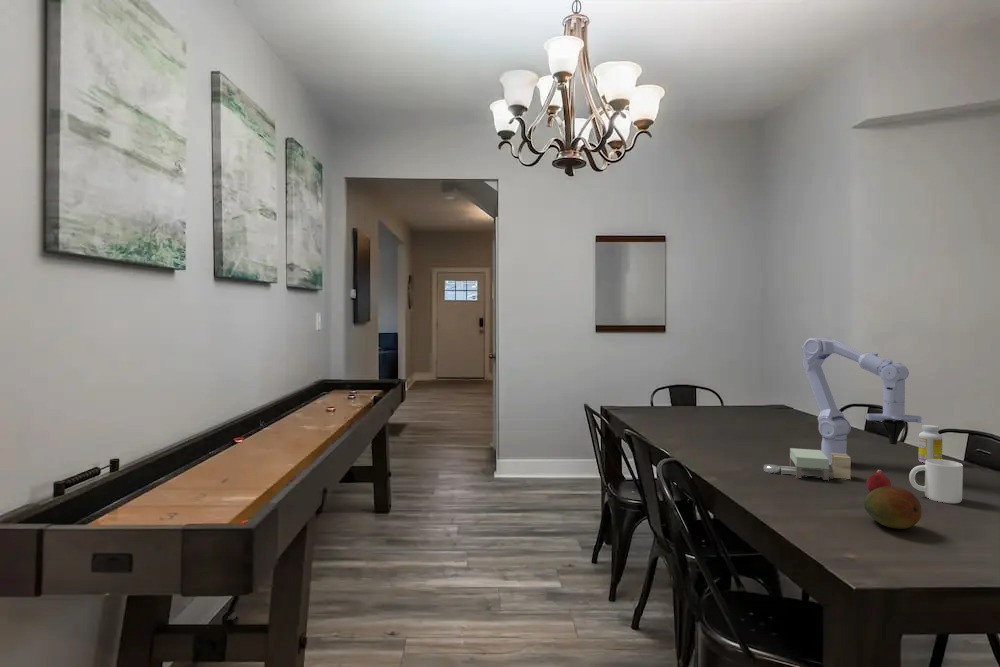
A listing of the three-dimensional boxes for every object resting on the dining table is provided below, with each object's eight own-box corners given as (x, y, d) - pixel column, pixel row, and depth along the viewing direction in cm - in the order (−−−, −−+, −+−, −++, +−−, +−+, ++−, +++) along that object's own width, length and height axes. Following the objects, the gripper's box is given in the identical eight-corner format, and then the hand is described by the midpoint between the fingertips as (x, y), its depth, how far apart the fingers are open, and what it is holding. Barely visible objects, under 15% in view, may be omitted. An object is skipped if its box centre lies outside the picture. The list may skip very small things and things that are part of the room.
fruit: (901, 539, 132) (901, 496, 131) (848, 521, 143) (849, 481, 143) (932, 531, 136) (933, 489, 136) (879, 514, 148) (879, 476, 147)
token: (762, 469, 192) (762, 463, 192) (779, 471, 190) (779, 465, 190) (764, 473, 187) (764, 467, 187) (781, 475, 186) (781, 468, 186)
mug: (911, 499, 160) (911, 462, 160) (906, 491, 167) (907, 456, 167) (965, 505, 154) (966, 467, 154) (958, 497, 162) (959, 461, 161)
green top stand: (789, 468, 193) (790, 448, 193) (819, 470, 190) (820, 450, 190) (796, 478, 181) (796, 457, 180) (828, 481, 178) (829, 459, 178)
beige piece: (779, 470, 190) (779, 449, 190) (846, 475, 184) (846, 454, 184) (781, 474, 186) (781, 453, 185) (850, 479, 179) (850, 457, 179)
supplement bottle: (943, 462, 200) (943, 425, 200) (940, 466, 195) (941, 428, 195) (919, 459, 205) (920, 423, 204) (916, 462, 200) (917, 426, 200)
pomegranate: (883, 502, 157) (883, 473, 157) (861, 496, 162) (862, 468, 162) (895, 499, 160) (895, 471, 160) (873, 493, 165) (874, 466, 165)
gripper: (871, 402, 181) (870, 444, 181) (925, 404, 176) (924, 448, 177) (864, 399, 188) (864, 440, 188) (917, 401, 183) (916, 443, 183)
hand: (893, 443), depth 183 cm, fingers closed
